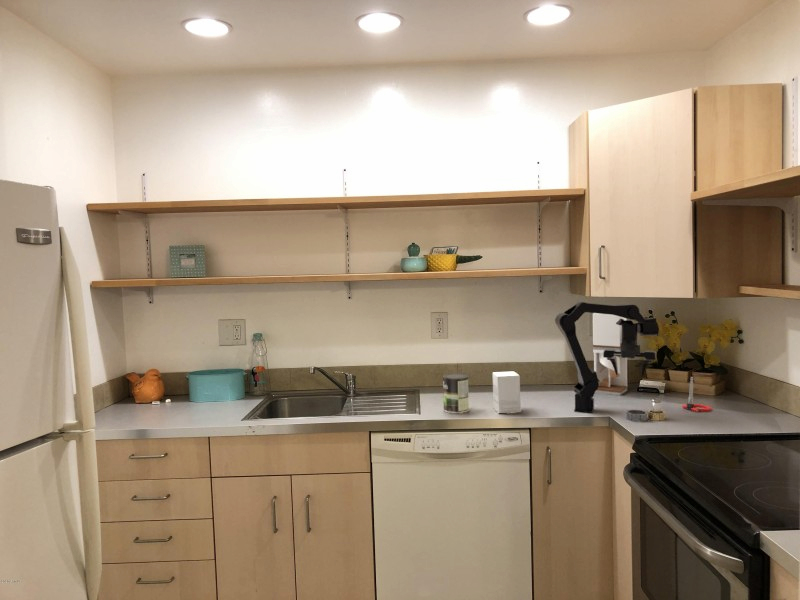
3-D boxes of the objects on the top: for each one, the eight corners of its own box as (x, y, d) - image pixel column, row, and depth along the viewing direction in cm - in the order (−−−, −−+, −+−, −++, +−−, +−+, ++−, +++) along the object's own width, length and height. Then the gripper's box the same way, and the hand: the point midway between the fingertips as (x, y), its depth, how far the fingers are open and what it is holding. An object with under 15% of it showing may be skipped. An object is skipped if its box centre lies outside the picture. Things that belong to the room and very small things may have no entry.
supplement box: (515, 407, 233) (514, 370, 232) (521, 413, 224) (520, 375, 223) (492, 408, 232) (492, 371, 231) (498, 414, 223) (497, 376, 222)
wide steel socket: (625, 420, 209) (625, 413, 209) (627, 415, 215) (627, 409, 215) (646, 422, 206) (646, 415, 206) (647, 417, 212) (647, 410, 212)
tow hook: (698, 406, 227) (680, 407, 224) (700, 374, 226) (681, 375, 223) (716, 411, 219) (697, 413, 216) (718, 378, 218) (699, 379, 215)
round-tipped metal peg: (651, 419, 210) (651, 400, 209) (651, 417, 213) (651, 398, 212) (660, 420, 209) (660, 400, 208) (661, 417, 211) (661, 398, 211)
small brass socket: (647, 419, 209) (647, 412, 209) (648, 415, 214) (648, 409, 214) (664, 421, 207) (664, 414, 207) (665, 417, 212) (665, 410, 212)
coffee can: (445, 414, 226) (444, 378, 225) (441, 407, 236) (440, 373, 235) (471, 413, 226) (470, 377, 225) (466, 406, 237) (465, 372, 236)
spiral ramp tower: (593, 392, 254) (592, 313, 251) (601, 387, 262) (600, 311, 260) (620, 395, 247) (619, 314, 244) (627, 390, 255) (626, 311, 253)
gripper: (601, 338, 220) (601, 378, 221) (654, 339, 211) (654, 381, 212) (605, 334, 230) (605, 373, 231) (656, 335, 221) (656, 376, 222)
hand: (629, 376), depth 224 cm, fingers open, 9 cm apart
